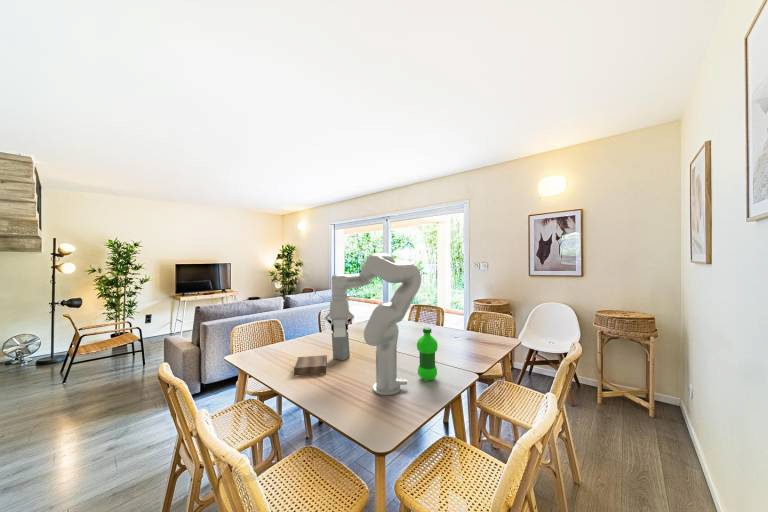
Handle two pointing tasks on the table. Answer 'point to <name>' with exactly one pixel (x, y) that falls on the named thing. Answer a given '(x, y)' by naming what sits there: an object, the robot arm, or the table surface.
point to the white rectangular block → (339, 328)
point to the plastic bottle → (427, 355)
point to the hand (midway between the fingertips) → (339, 331)
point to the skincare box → (340, 347)
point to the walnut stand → (310, 365)
